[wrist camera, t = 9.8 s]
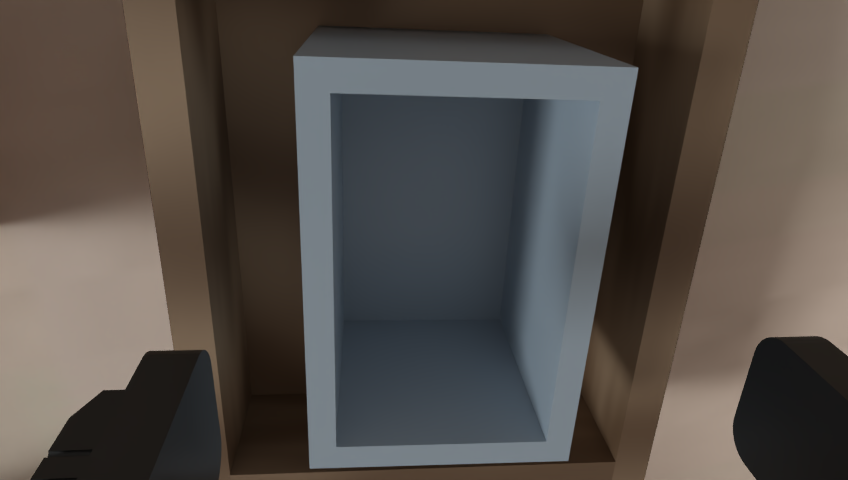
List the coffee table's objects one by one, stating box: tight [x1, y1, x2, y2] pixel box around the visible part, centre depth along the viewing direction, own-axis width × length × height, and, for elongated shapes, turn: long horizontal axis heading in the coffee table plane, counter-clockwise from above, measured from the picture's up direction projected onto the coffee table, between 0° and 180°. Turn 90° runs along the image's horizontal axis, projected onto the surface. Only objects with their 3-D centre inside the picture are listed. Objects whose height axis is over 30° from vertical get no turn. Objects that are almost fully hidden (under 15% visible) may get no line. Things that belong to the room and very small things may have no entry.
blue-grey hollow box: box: [293, 25, 638, 469], centre depth 15 cm, size 9×6×6 cm, turn 177°
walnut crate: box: [122, 0, 759, 480], centre depth 17 cm, size 16×13×4 cm
